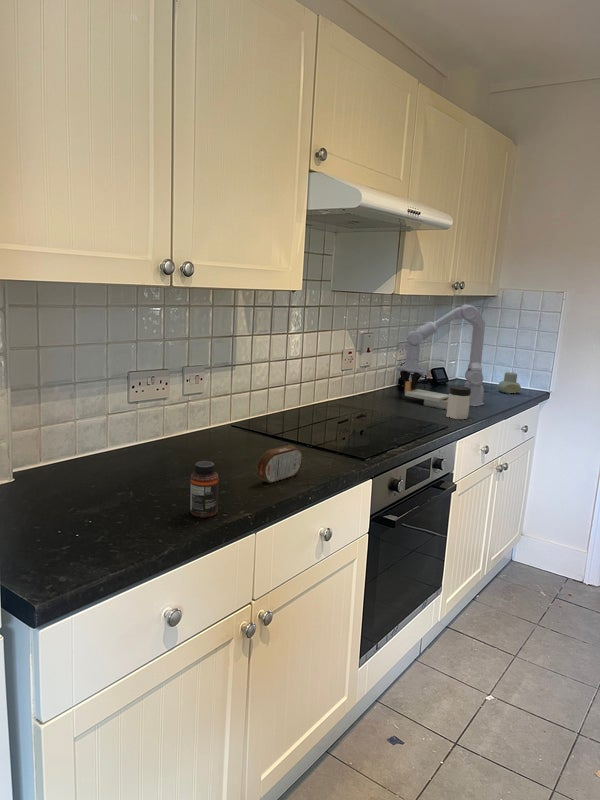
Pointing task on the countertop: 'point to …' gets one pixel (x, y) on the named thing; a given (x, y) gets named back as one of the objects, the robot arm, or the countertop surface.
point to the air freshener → (509, 383)
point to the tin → (279, 463)
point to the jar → (458, 402)
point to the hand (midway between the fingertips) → (409, 388)
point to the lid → (423, 393)
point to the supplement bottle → (204, 490)
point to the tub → (437, 403)
